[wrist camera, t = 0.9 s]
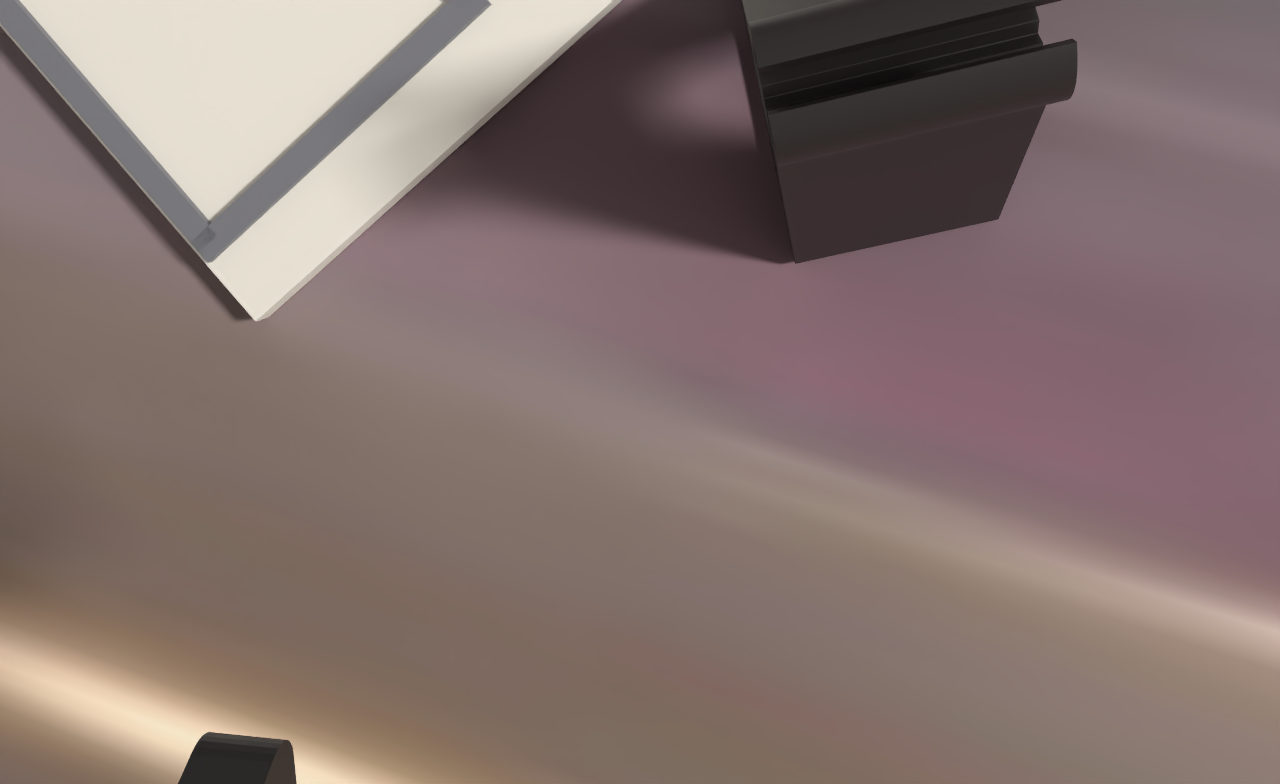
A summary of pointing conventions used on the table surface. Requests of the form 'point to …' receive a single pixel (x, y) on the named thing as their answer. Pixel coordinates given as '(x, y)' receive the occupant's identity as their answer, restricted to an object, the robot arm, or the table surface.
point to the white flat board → (299, 105)
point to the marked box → (289, 170)
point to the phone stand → (899, 112)
